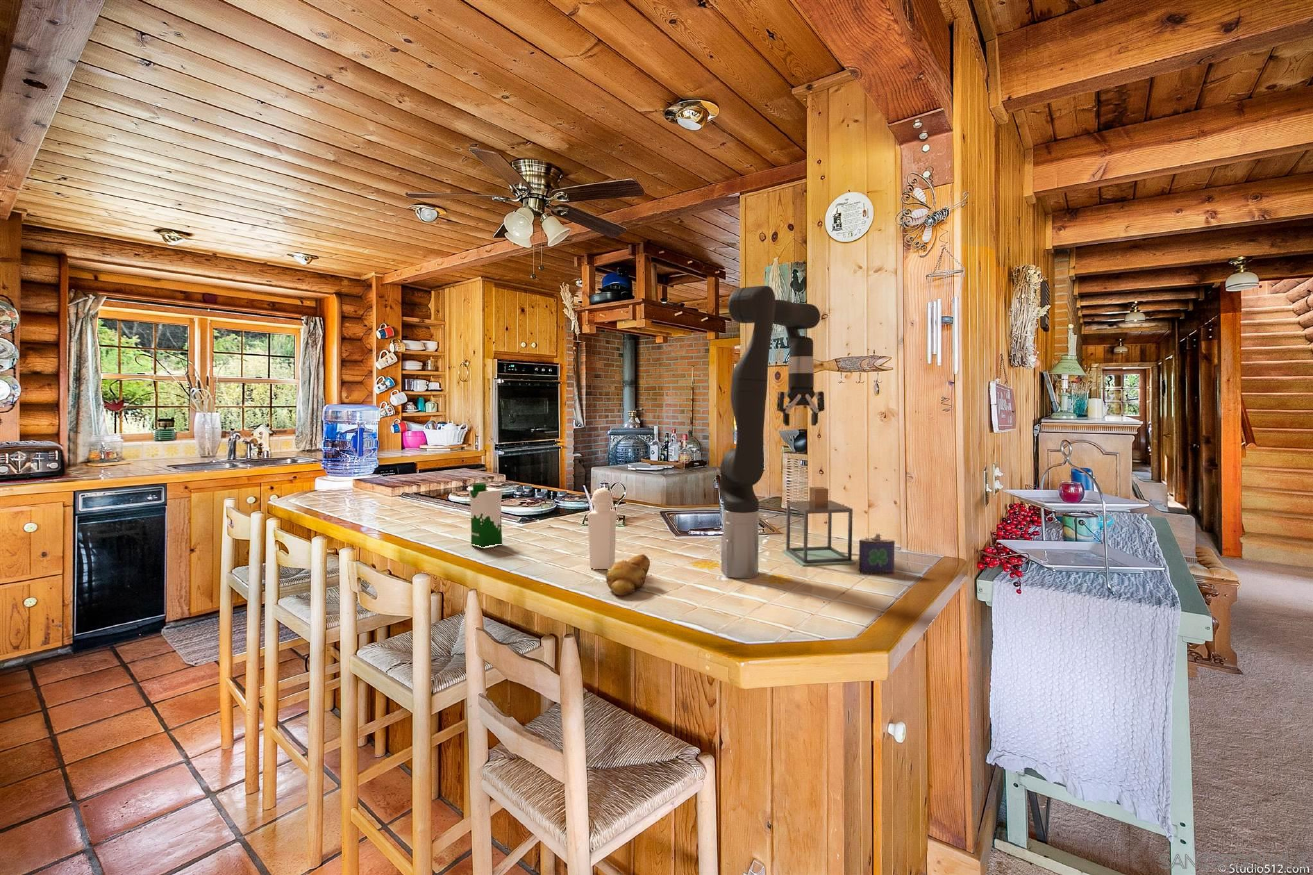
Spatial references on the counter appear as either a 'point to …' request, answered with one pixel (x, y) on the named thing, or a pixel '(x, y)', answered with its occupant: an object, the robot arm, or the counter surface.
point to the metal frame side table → (823, 505)
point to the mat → (818, 557)
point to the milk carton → (485, 515)
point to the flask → (876, 555)
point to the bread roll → (628, 575)
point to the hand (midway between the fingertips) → (800, 425)
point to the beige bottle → (602, 530)
